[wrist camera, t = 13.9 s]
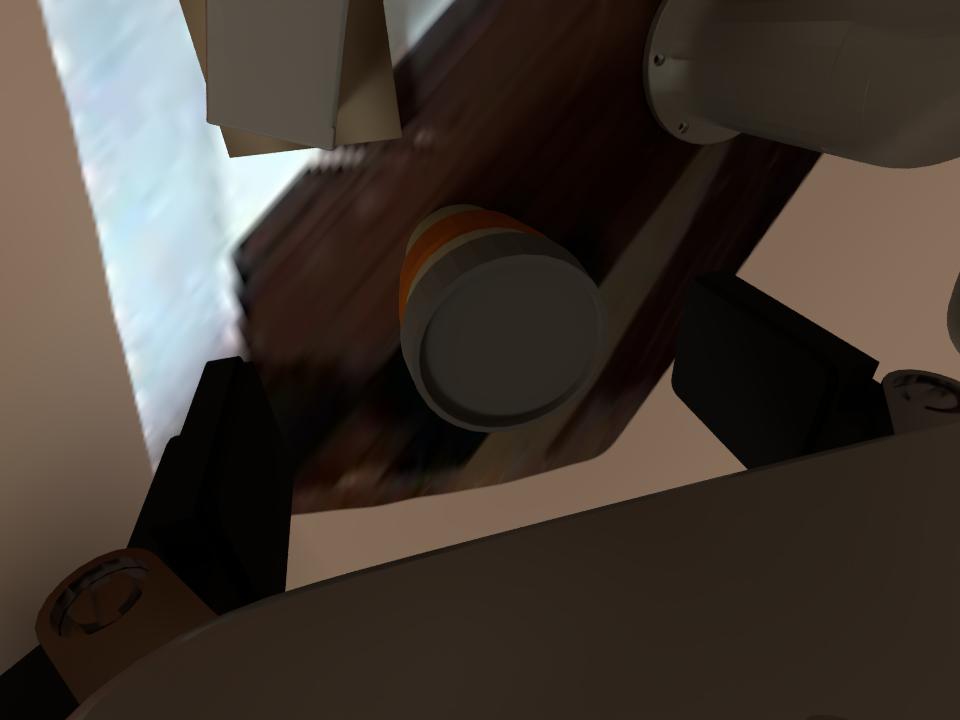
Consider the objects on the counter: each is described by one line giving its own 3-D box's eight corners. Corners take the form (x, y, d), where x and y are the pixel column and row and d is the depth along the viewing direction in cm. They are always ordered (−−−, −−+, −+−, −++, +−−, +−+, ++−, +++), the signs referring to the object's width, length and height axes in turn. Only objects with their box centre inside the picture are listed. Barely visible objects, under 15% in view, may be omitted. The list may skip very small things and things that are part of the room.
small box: (241, -66, 27) (201, -110, 19) (348, -30, 29) (357, -54, 21) (236, 98, 31) (202, 125, 22) (332, 121, 33) (334, 153, 24)
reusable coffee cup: (437, 351, 46) (477, 466, 34) (349, 241, 39) (359, 337, 27) (555, 274, 45) (641, 364, 33) (487, 145, 38) (563, 201, 26)
